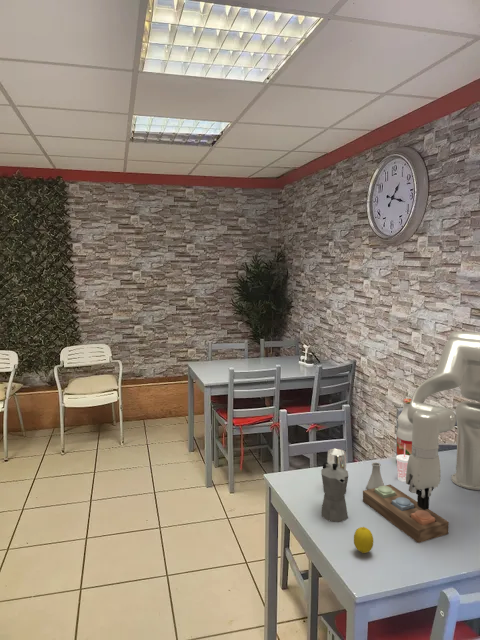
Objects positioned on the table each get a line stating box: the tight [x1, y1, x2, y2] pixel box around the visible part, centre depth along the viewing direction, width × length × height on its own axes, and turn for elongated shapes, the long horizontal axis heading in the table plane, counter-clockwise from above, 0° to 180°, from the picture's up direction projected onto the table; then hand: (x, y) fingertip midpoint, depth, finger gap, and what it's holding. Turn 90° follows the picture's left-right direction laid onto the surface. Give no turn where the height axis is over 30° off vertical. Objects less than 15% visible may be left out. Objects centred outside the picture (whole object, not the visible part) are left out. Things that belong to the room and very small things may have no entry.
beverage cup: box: [396, 445, 409, 483], centre depth 178 cm, size 6×6×14 cm
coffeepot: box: [320, 461, 349, 523], centre depth 154 cm, size 15×9×18 cm, turn 13°
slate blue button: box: [392, 497, 414, 511], centre depth 152 cm, size 5×5×3 cm
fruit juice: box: [396, 397, 413, 462], centre depth 190 cm, size 9×9×28 cm
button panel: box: [362, 484, 450, 544], centre depth 152 cm, size 12×27×4 cm, turn 22°
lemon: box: [353, 526, 374, 554], centre depth 133 cm, size 6×6×8 cm
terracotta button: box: [411, 510, 435, 526], centre depth 143 cm, size 5×5×3 cm
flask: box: [365, 461, 385, 490], centre depth 170 cm, size 7×7×10 cm
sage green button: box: [375, 486, 396, 498], centre depth 160 cm, size 5×5×3 cm
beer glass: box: [326, 448, 347, 470], centre depth 170 cm, size 7×7×15 cm
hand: (422, 507), depth 143 cm, fingers closed
